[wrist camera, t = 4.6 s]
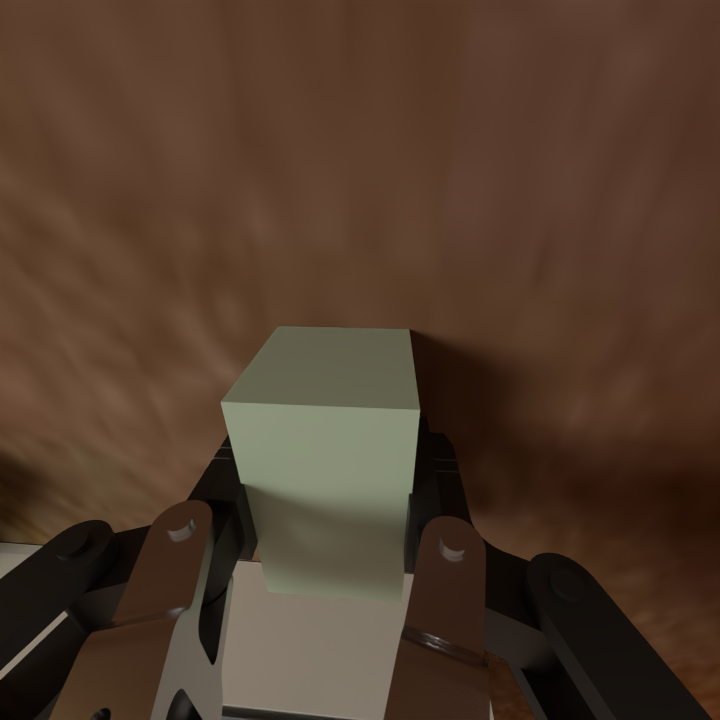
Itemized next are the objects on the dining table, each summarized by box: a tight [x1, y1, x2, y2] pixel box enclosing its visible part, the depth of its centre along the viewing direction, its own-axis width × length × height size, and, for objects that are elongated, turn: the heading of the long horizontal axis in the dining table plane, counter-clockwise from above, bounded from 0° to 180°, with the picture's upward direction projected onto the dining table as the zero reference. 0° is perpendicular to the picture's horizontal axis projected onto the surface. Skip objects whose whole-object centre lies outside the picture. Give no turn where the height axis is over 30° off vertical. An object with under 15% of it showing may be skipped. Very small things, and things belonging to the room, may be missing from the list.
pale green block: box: [221, 326, 420, 603], centre depth 10 cm, size 4×7×4 cm, turn 1°
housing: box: [0, 542, 494, 720], centre depth 18 cm, size 24×16×5 cm, turn 90°
